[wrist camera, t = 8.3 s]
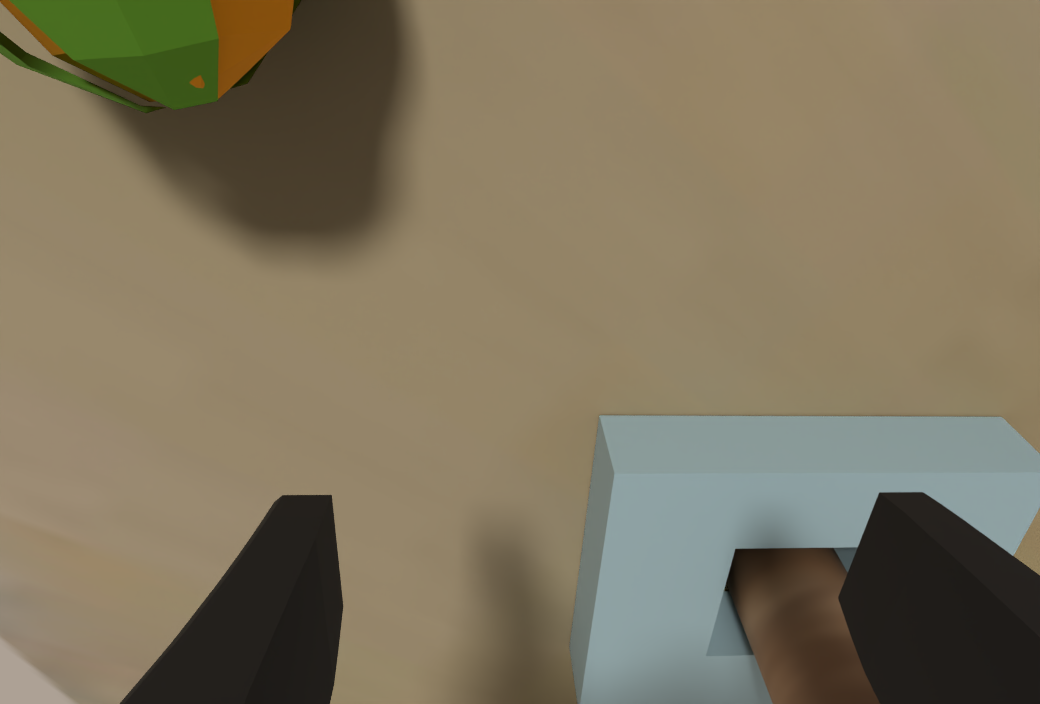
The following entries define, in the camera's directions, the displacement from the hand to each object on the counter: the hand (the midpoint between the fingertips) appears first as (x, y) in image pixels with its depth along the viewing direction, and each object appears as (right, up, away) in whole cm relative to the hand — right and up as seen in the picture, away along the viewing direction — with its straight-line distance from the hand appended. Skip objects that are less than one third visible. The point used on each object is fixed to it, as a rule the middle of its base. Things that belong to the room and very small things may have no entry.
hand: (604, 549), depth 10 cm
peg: (+7, -3, +14) cm, 16 cm away
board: (+7, -4, +14) cm, 16 cm away
